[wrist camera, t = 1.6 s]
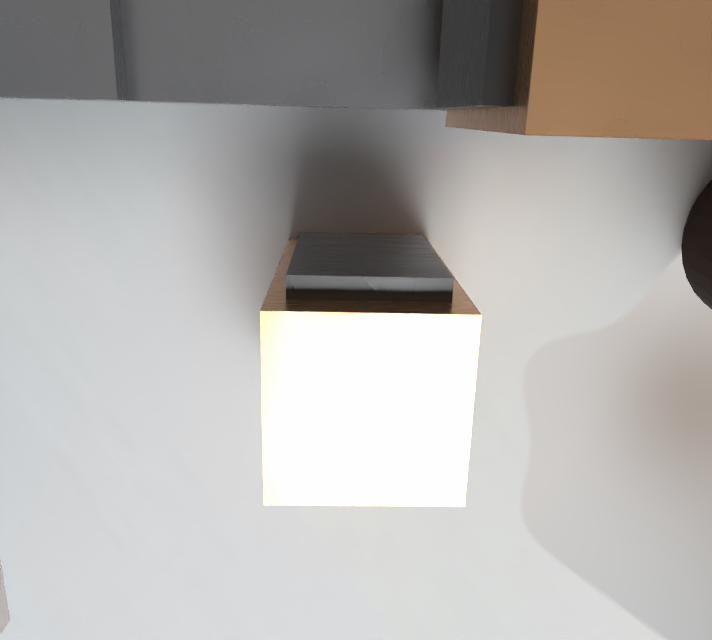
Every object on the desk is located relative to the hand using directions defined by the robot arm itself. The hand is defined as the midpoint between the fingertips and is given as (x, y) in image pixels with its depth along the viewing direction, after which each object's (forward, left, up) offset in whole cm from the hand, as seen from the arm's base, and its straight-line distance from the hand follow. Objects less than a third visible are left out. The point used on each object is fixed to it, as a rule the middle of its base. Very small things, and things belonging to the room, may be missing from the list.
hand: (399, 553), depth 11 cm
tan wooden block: (0, 0, -14) cm, 14 cm away
